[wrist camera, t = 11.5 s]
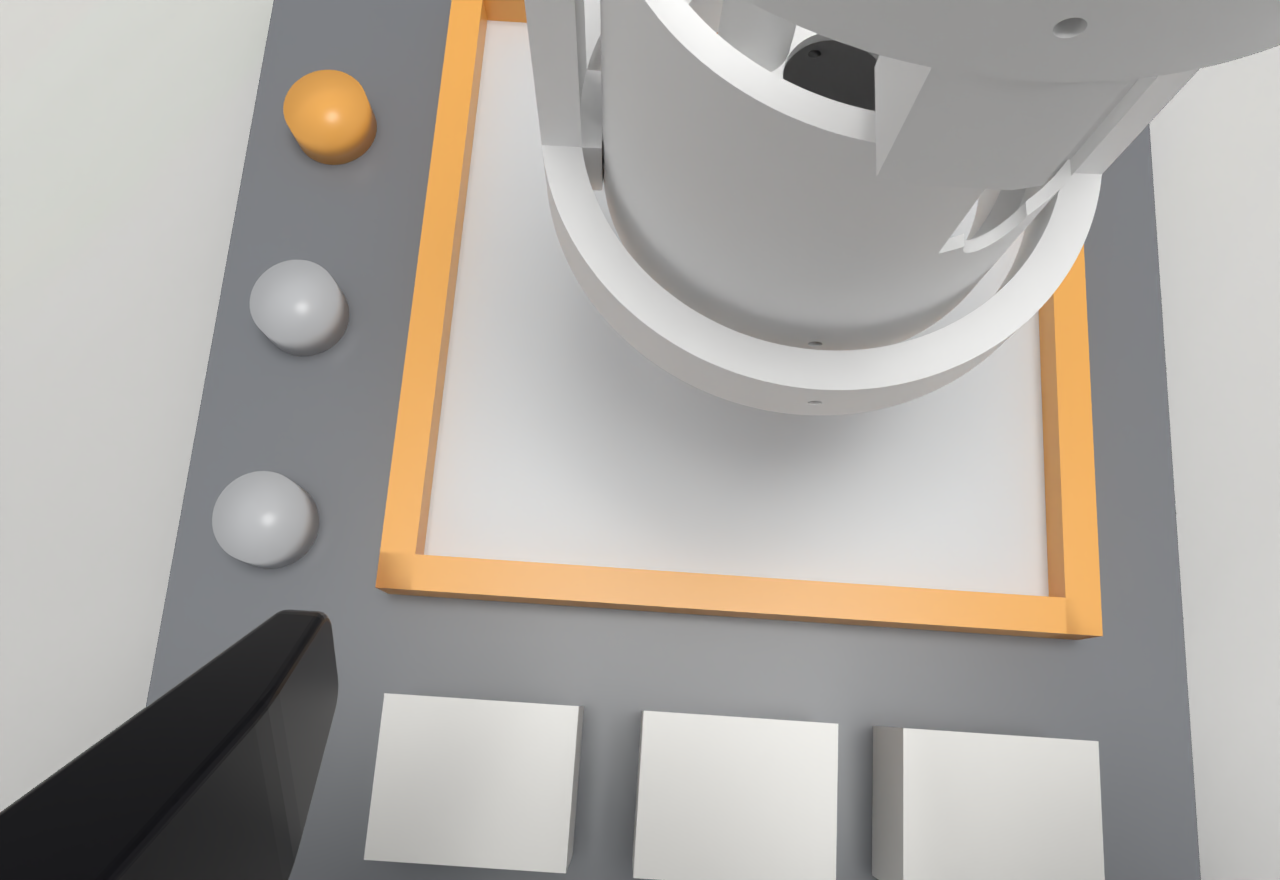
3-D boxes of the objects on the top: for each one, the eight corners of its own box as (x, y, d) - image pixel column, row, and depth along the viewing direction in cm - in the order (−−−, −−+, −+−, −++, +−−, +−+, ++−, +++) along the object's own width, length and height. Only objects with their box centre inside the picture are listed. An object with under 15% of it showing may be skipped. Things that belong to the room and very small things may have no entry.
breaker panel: (1174, 936, 18) (1280, 981, 15) (142, 867, 18) (49, 897, 15) (1119, 39, 22) (1192, -60, 20) (297, -14, 22) (248, -122, 20)
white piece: (551, 489, 18) (334, -329, 4) (575, 137, 20) (484, -1343, 6) (945, 508, 18) (2183, -214, 4) (933, 156, 20) (1757, -1243, 6)
